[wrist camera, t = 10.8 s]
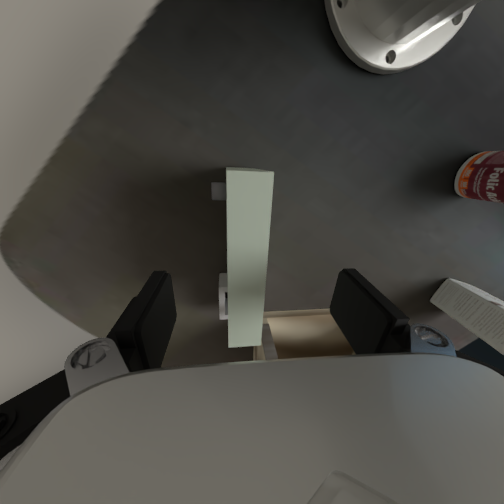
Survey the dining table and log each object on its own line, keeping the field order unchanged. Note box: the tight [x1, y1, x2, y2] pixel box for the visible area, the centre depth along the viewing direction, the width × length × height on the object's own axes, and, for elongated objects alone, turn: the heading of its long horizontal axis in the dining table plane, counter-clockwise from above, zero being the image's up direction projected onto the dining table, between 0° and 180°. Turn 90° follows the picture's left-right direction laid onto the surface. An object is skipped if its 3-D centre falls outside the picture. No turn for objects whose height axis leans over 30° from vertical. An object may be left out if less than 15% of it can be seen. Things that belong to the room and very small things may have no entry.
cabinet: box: [253, 308, 356, 361], centre depth 22 cm, size 16×19×15 cm
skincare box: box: [430, 278, 504, 355], centre depth 24 cm, size 6×4×12 cm
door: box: [211, 167, 274, 348], centre depth 18 cm, size 16×4×10 cm, turn 178°
